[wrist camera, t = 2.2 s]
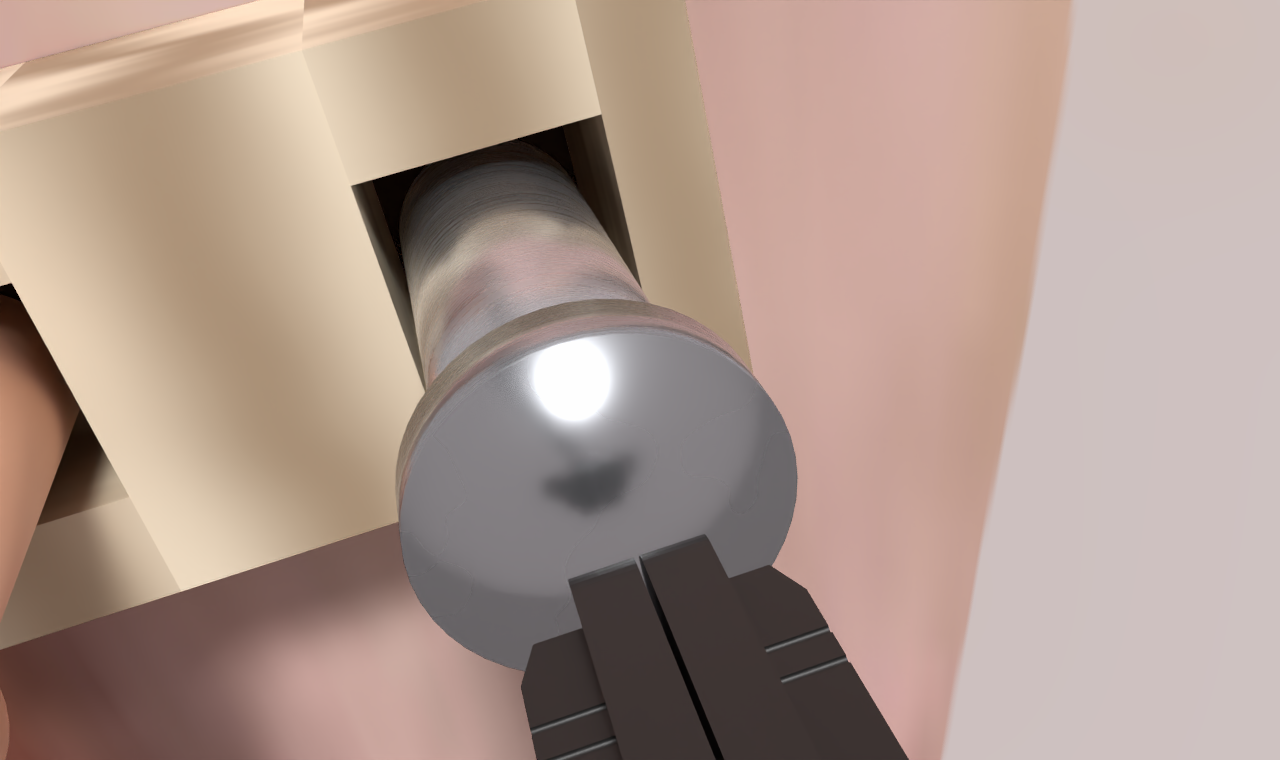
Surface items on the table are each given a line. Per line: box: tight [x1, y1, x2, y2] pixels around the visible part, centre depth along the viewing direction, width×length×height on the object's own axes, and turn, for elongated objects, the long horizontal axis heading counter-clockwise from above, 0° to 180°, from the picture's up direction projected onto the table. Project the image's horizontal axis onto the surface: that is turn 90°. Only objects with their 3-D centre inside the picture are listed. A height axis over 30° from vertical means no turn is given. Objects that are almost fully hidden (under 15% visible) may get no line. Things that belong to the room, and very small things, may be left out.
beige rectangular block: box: [0, 0, 753, 650], centre depth 22 cm, size 18×9×6 cm, turn 102°
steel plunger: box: [395, 140, 797, 671], centre depth 18 cm, size 5×5×10 cm
